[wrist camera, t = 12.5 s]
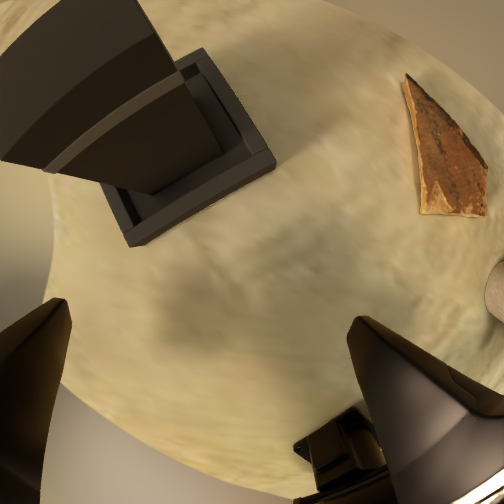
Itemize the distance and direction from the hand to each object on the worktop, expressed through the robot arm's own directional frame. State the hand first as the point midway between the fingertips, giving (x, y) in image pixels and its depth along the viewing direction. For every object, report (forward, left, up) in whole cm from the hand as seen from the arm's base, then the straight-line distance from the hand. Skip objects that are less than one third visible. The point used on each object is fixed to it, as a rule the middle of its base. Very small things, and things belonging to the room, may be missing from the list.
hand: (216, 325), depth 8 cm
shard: (-3, -16, -11) cm, 20 cm away
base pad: (+10, -2, -11) cm, 15 cm away
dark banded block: (+9, -2, -10) cm, 14 cm away
